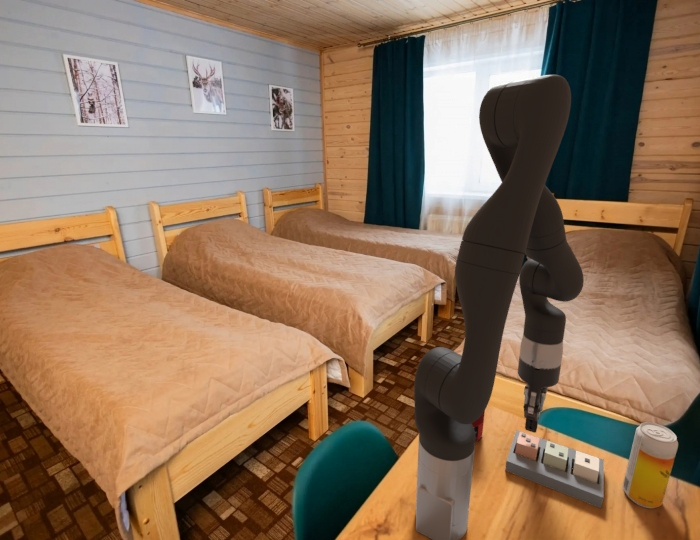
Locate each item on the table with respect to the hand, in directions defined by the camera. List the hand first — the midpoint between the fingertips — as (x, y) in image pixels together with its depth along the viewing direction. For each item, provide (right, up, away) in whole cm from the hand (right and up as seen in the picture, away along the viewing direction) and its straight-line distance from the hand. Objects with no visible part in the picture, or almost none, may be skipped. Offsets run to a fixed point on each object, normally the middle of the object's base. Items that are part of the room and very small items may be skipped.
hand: (530, 429), depth 81 cm
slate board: (+4, -8, -1) cm, 9 cm away
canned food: (-11, -5, +10) cm, 16 cm away
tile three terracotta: (0, -5, +1) cm, 5 cm away
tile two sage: (+4, -6, -1) cm, 8 cm away
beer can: (+18, -10, -7) cm, 22 cm away
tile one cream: (+9, -7, -4) cm, 12 cm away
